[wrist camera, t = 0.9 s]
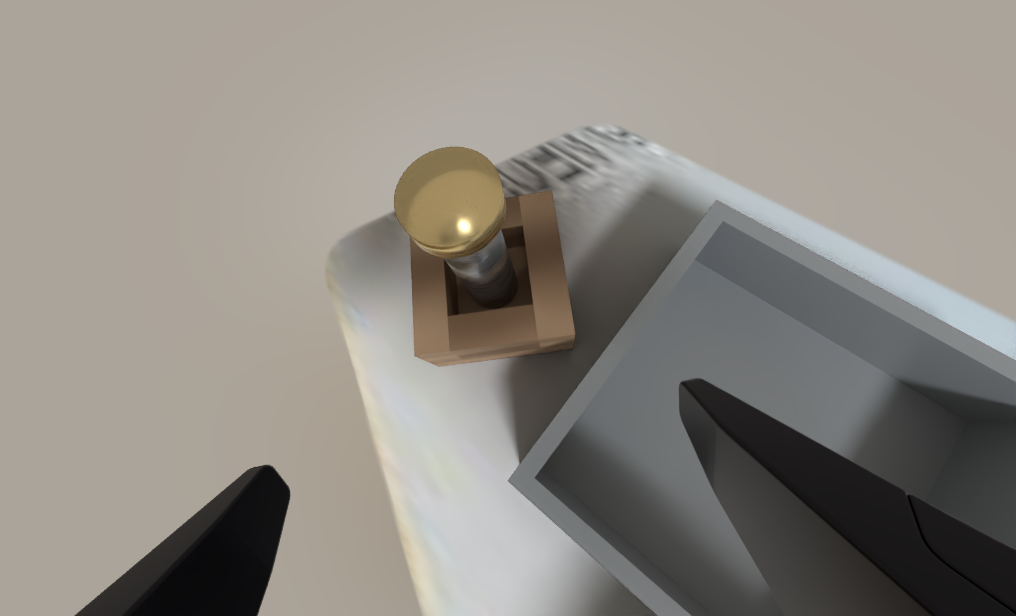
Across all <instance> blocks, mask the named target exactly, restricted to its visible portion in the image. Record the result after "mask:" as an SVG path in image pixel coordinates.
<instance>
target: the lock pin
mask: <svg viewBox="0 0 1016 616" xmlns="http://www.w3.org/2000/svg"><path fill="white" fill-rule="evenodd" d="M394 209H395V213H396V216H397V218H398V221H399V222H400V224H401V226H402V227H403V228H404V229H405V231H406V232H407V233H408V234H409V235H410V237H411V238H412V239H413V240H414V241H415V243H416V244H417V245H418V246H419V247H420V248H421V249H423V250H424V251H426V252H427V253H429V254H431V255H433V256H437V257H440V258H444V259H445V261H446V262H447V263H448V265H449V266H450V267H451V269H452V270H453V272H454V273H455V274H456V276H457V277H458V278H459V280H460V281H461V282H462V284H463V285H464V286H465V288H466V289H467V291H468V292H469V293H470V295H471V296H472V297H473V299H474V300H475V301H476V302H477V303H478V304H479V305H480V306H482V307H484V308H488V309H498V308H502V307H504V306H506V305H507V304H509V303H510V302H511V301H512V300H513V298H514V297H515V295H516V293H517V290H518V280H517V277H516V274H515V271H514V268H513V265H512V262H511V258H510V255H509V252H508V249H507V246H506V243H505V240H504V237H503V234H502V231H501V228H502V225H503V223H504V220H505V216H506V201H505V196H504V192H503V188H502V184H501V181H500V177H499V174H498V172H497V170H496V168H495V166H494V165H493V164H492V163H491V161H490V160H488V158H486V157H485V156H484V155H482V154H480V153H479V152H477V151H474V150H472V149H468V148H464V147H447V148H441V149H437V150H434V151H431V152H429V153H427V154H425V155H423V156H421V157H420V158H418V159H417V160H416V161H415V162H413V163H412V164H411V165H410V166H409V167H408V168H407V169H406V171H405V172H404V173H403V175H402V177H401V178H400V180H399V182H398V184H397V187H396V190H395V195H394Z"/></svg>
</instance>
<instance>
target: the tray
mask: <svg viewBox="0 0 1016 616" xmlns="http://www.w3.org/2000/svg"><path fill="white" fill-rule="evenodd" d="M694 378H701V379H704V380H706V381H708V382H709V383H711V384H713V385H715V386H717V387H718V388H720V389H722V390H724V391H726V392H728V393H729V394H731V395H733V396H735V397H737V398H738V399H740V400H742V401H744V402H746V403H748V404H749V405H751V406H753V407H755V408H757V409H758V410H760V411H762V412H764V413H766V414H767V415H769V416H771V417H773V418H775V419H777V420H778V421H780V422H782V423H784V424H786V425H787V426H789V427H791V428H793V429H795V430H797V431H798V432H800V433H802V434H804V435H806V436H807V437H809V438H811V439H813V440H815V441H816V442H818V443H820V444H822V445H824V446H826V447H827V448H829V449H831V450H833V451H835V452H836V453H838V454H840V455H842V456H844V457H846V458H847V459H849V460H851V461H853V462H855V463H856V464H858V465H860V466H862V467H864V468H865V469H867V470H869V471H871V472H873V473H875V474H876V475H878V476H880V477H882V478H884V479H885V480H887V481H889V482H891V483H893V484H895V485H896V486H898V487H900V488H902V489H904V490H905V491H906V493H907V495H908V494H913V495H915V496H917V497H918V498H920V499H922V500H924V501H926V502H928V503H929V504H931V505H933V506H935V507H937V508H938V509H940V510H942V511H944V512H946V513H948V514H950V515H951V516H953V517H955V518H957V519H959V520H961V521H963V522H965V523H966V524H968V525H970V526H972V527H974V528H976V529H978V530H980V531H982V532H983V533H985V534H987V535H989V536H991V537H993V538H995V539H997V540H998V541H1000V542H1003V543H1005V544H1007V545H1009V546H1011V547H1013V548H1015V549H1016V360H1014V359H1012V358H1010V357H1008V356H1007V355H1005V354H1003V353H1001V352H999V351H997V350H995V349H993V348H992V347H990V346H988V345H986V344H984V343H982V342H980V341H979V340H977V339H975V338H973V337H971V336H969V335H967V334H965V333H964V332H962V331H960V330H958V329H956V328H954V327H952V326H951V325H949V324H947V323H945V322H943V321H941V320H939V319H938V318H936V317H934V316H932V315H930V314H928V313H926V312H924V311H923V310H921V309H919V308H917V307H915V306H913V305H911V304H910V303H908V302H906V301H904V300H902V299H900V298H898V297H897V296H895V295H893V294H891V293H889V292H887V291H885V290H883V289H882V288H880V287H878V286H876V285H874V284H872V283H870V282H869V281H867V280H865V279H863V278H861V277H859V276H857V275H856V274H854V273H852V272H850V271H848V270H846V269H844V268H842V267H841V266H839V265H837V264H835V263H833V262H831V261H829V260H828V259H826V258H824V257H822V256H820V255H818V254H816V253H815V252H813V251H811V250H809V249H807V248H805V247H803V246H801V245H800V244H798V243H796V242H794V241H792V240H790V239H788V238H787V237H785V236H783V235H781V234H779V233H777V232H775V231H773V230H772V229H770V228H768V227H766V226H764V225H762V224H760V223H759V222H757V221H755V220H753V219H751V218H749V217H747V216H746V215H744V214H742V213H740V212H738V211H736V210H734V209H732V208H731V207H729V206H727V205H725V204H723V203H721V202H719V201H718V200H716V201H715V203H714V204H713V205H712V207H711V208H710V209H709V211H708V212H707V213H706V215H705V216H704V217H703V219H702V220H701V221H700V223H699V224H698V225H697V227H696V228H695V230H694V231H693V232H692V234H691V235H690V236H689V238H688V239H687V240H686V242H685V243H684V244H683V246H682V247H681V248H680V250H679V251H678V252H677V254H676V255H675V256H674V258H673V259H672V260H671V262H670V263H669V264H668V266H667V267H666V268H665V270H664V271H663V272H662V274H661V275H660V277H659V278H658V279H657V281H656V282H655V283H654V285H653V286H652V287H651V289H650V290H649V291H648V293H647V294H646V295H645V297H644V298H643V299H642V301H641V302H640V303H639V305H638V306H637V307H636V309H635V310H634V311H633V313H632V314H631V315H630V317H629V318H628V320H627V321H626V322H625V324H624V325H623V326H622V328H621V329H620V330H619V332H618V333H617V334H616V336H615V337H614V338H613V340H612V341H611V342H610V344H609V345H608V346H607V348H606V349H605V350H604V352H603V353H602V354H601V356H600V357H599V358H598V360H597V361H596V362H595V364H594V365H593V367H592V368H591V369H590V371H589V372H588V373H587V375H586V376H585V377H584V379H583V380H582V381H581V383H580V384H579V385H578V387H577V388H576V389H575V391H574V392H573V393H572V395H571V396H570V397H569V399H568V400H567V401H566V403H565V404H564V405H563V407H562V408H561V410H560V411H559V412H558V414H557V415H556V416H555V418H554V419H553V420H552V422H551V423H550V424H549V426H548V427H547V428H546V430H545V431H544V432H543V434H542V435H541V436H540V438H539V439H538V440H537V442H536V443H535V444H534V446H533V447H532V448H531V450H530V451H529V453H528V454H527V455H526V457H525V458H524V459H523V461H522V462H521V463H520V465H519V466H518V467H517V469H516V470H515V471H514V473H513V474H512V475H511V477H510V478H509V479H508V482H509V483H511V484H512V485H513V486H514V487H515V488H516V489H517V490H518V491H519V492H521V493H522V494H523V495H524V496H525V497H526V498H527V499H528V500H529V501H531V502H532V503H533V504H534V505H535V506H536V507H537V508H538V509H539V510H541V511H542V512H543V513H544V514H545V515H546V516H547V517H548V518H549V519H551V520H552V521H553V522H554V523H555V524H556V525H557V526H558V527H559V528H561V529H562V530H563V531H564V532H565V533H566V534H567V535H568V536H569V537H571V538H572V539H573V540H574V541H575V542H576V543H577V544H578V545H579V546H581V547H582V548H583V549H584V550H585V551H586V552H587V553H588V554H589V555H591V556H592V557H593V558H594V559H595V560H596V561H597V562H598V563H599V564H601V565H602V566H603V567H604V568H605V569H606V570H607V571H608V572H609V573H611V574H612V575H613V576H614V577H615V578H616V579H617V580H618V581H619V582H621V583H622V584H623V585H624V586H625V587H626V588H627V589H628V590H629V591H631V592H632V593H633V594H634V595H635V596H636V597H637V598H638V599H639V600H641V601H642V602H643V603H644V604H645V605H646V606H647V607H648V608H649V609H651V610H652V611H653V612H654V613H655V614H656V615H657V616H785V614H784V612H783V611H782V609H781V607H780V605H779V604H778V602H777V600H776V599H775V597H774V595H773V593H772V592H771V590H770V588H769V587H768V585H767V583H766V581H765V580H764V578H763V576H762V574H761V573H760V571H759V569H758V568H757V566H756V564H755V562H754V561H753V559H752V557H751V556H750V554H749V552H748V550H747V549H746V547H745V545H744V544H743V542H742V540H741V538H740V537H739V535H738V533H737V532H736V530H735V528H734V526H733V525H732V523H731V521H730V520H729V518H728V516H727V514H726V513H725V511H724V509H723V508H722V506H721V504H720V502H719V501H718V499H717V497H716V495H715V493H714V491H713V489H712V487H711V485H710V483H709V481H708V479H707V476H706V474H705V472H704V470H703V467H702V465H701V463H700V461H699V459H698V456H697V454H696V452H695V450H694V447H693V445H692V443H691V441H690V438H689V436H688V434H687V432H686V429H685V427H684V425H683V423H682V420H681V417H680V413H679V384H680V382H682V381H684V380H689V379H694Z"/></svg>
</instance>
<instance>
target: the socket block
mask: <svg viewBox="0 0 1016 616" xmlns="http://www.w3.org/2000/svg"><path fill="white" fill-rule="evenodd" d="M505 201H506V216H505V220H504V223H503V225H502V228H501V231H502V234H503V237H504V240H505V243H506V246H507V249H508V252H509V255H510V258H511V262H512V265H513V268H514V271H515V274H516V277H517V280H518V290H517V293H516V295H515V297H514V298H513V300H512V301H511V302H510V303H509V304H507V305H506V306H504V307H502V308H498V309H488V308H484V307H482V306H480V305H479V304H478V303H477V302H476V301H475V300H474V299H473V297H472V296H471V295H470V293H469V292H468V291H467V289H466V288H465V286H464V285H463V284H462V282H461V281H460V280H459V278H458V277H457V276H456V274H455V273H454V272H453V270H452V269H451V267H450V266H449V265H448V263H447V262H446V261H445V259H444V258H440V257H437V256H433V255H431V254H429V253H427V252H426V251H424V250H423V249H421V248H420V247H419V246H418V245H417V244H416V243H415V241H414V240H413V239H412V238H411V237H410V245H411V272H412V298H413V324H414V351H415V356H416V357H418V358H420V359H423V360H425V361H427V362H430V363H432V364H434V365H437V366H439V367H440V366H447V365H455V364H463V363H470V362H478V361H486V360H493V359H501V358H508V357H516V356H524V355H531V354H539V353H546V352H554V351H562V350H569V349H573V347H574V340H575V329H574V323H573V317H572V311H571V305H570V299H569V292H568V286H567V280H566V274H565V268H564V262H563V256H562V250H561V244H560V237H559V231H558V225H557V219H556V213H555V207H554V201H553V195H552V190H551V191H545V192H539V193H533V194H527V195H522V196H516V197H510V198H505Z"/></svg>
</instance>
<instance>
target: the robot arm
mask: <svg viewBox="0 0 1016 616" xmlns="http://www.w3.org/2000/svg"><path fill="white" fill-rule="evenodd" d="M679 413H680V417H681V420H682V423H683V425H684V427H685V429H686V432H687V434H688V436H689V438H690V441H691V443H692V445H693V447H694V450H695V452H696V454H697V456H698V459H699V461H700V463H701V465H702V467H703V470H704V472H705V474H706V476H707V479H708V481H709V483H710V485H711V487H712V489H713V491H714V493H715V495H716V497H717V499H718V501H719V502H720V504H721V506H722V508H723V509H724V511H725V513H726V514H727V516H728V518H729V520H730V521H731V523H732V525H733V526H734V528H735V530H736V532H737V533H738V535H739V537H740V538H741V540H742V542H743V544H744V545H745V547H746V549H747V550H748V552H749V554H750V556H751V557H752V559H753V561H754V562H755V564H756V566H757V568H758V569H759V571H760V573H761V574H762V576H763V578H764V580H765V581H766V583H767V585H768V587H769V588H770V590H771V592H772V593H773V595H774V597H775V599H776V600H777V602H778V604H779V605H780V607H781V609H782V611H783V612H784V614H785V616H1016V549H1015V548H1013V547H1011V546H1009V545H1007V544H1005V543H1003V542H1000V541H998V540H997V539H995V538H993V537H991V536H989V535H987V534H985V533H983V532H982V531H980V530H978V529H976V528H974V527H972V526H970V525H968V524H966V523H965V522H963V521H961V520H959V519H957V518H955V517H953V516H951V515H950V514H948V513H946V512H944V511H942V510H940V509H938V508H937V507H935V506H933V505H931V504H929V503H928V502H926V501H924V500H922V499H920V498H918V497H917V496H915V495H913V494H908V495H907V493H906V491H905V490H904V489H902V488H900V487H898V486H896V485H895V484H893V483H891V482H889V481H887V480H885V479H884V478H882V477H880V476H878V475H876V474H875V473H873V472H871V471H869V470H867V469H865V468H864V467H862V466H860V465H858V464H856V463H855V462H853V461H851V460H849V459H847V458H846V457H844V456H842V455H840V454H838V453H836V452H835V451H833V450H831V449H829V448H827V447H826V446H824V445H822V444H820V443H818V442H816V441H815V440H813V439H811V438H809V437H807V436H806V435H804V434H802V433H800V432H798V431H797V430H795V429H793V428H791V427H789V426H787V425H786V424H784V423H782V422H780V421H778V420H777V419H775V418H773V417H771V416H769V415H767V414H766V413H764V412H762V411H760V410H758V409H757V408H755V407H753V406H751V405H749V404H748V403H746V402H744V401H742V400H740V399H738V398H737V397H735V396H733V395H731V394H729V393H728V392H726V391H724V390H722V389H720V388H718V387H717V386H715V385H713V384H711V383H709V382H708V381H706V380H704V379H701V378H694V379H689V380H684V381H682V382H680V384H679ZM289 500H290V489H289V487H288V485H287V484H286V483H285V481H284V480H283V479H282V477H281V476H280V475H279V473H278V472H277V471H276V470H275V468H274V467H273V466H271V465H263V466H258V467H253V468H251V469H249V470H247V471H246V472H245V473H244V474H242V475H241V476H240V477H239V478H238V479H236V480H235V481H234V482H233V483H232V484H231V485H229V486H228V487H227V488H226V489H225V490H224V491H222V492H221V493H220V494H219V495H217V496H216V497H215V498H214V499H213V500H211V501H210V502H209V503H208V504H207V505H206V506H204V507H203V508H202V509H201V510H200V511H198V512H197V513H196V514H195V515H194V516H193V517H191V518H190V519H189V520H188V521H186V522H185V523H184V524H183V525H182V526H180V527H179V528H178V529H177V530H176V531H175V532H173V533H172V534H171V535H170V536H169V537H167V538H166V539H165V540H164V541H163V542H161V543H160V544H159V545H158V546H157V547H156V548H154V549H153V550H152V551H151V552H150V553H149V554H147V555H146V556H145V557H144V558H142V559H141V560H140V561H139V562H138V563H137V564H135V565H134V566H133V567H132V568H131V569H129V570H128V571H127V572H126V573H125V574H123V575H122V576H121V577H120V578H119V579H117V580H116V581H115V582H114V583H113V584H112V585H110V586H109V587H108V588H107V589H106V590H104V591H103V592H102V593H101V594H100V595H98V596H97V597H96V598H95V599H94V600H93V601H91V602H90V603H89V604H88V605H87V606H85V607H84V608H83V609H82V610H81V611H79V612H78V613H77V614H76V615H75V616H257V615H258V612H259V609H260V606H261V604H262V600H263V597H264V594H265V592H266V589H267V586H268V582H269V580H270V576H271V573H272V569H273V566H274V562H275V558H276V554H277V550H278V546H279V542H280V538H281V534H282V530H283V526H284V521H285V517H286V513H287V509H288V505H289Z"/></svg>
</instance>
